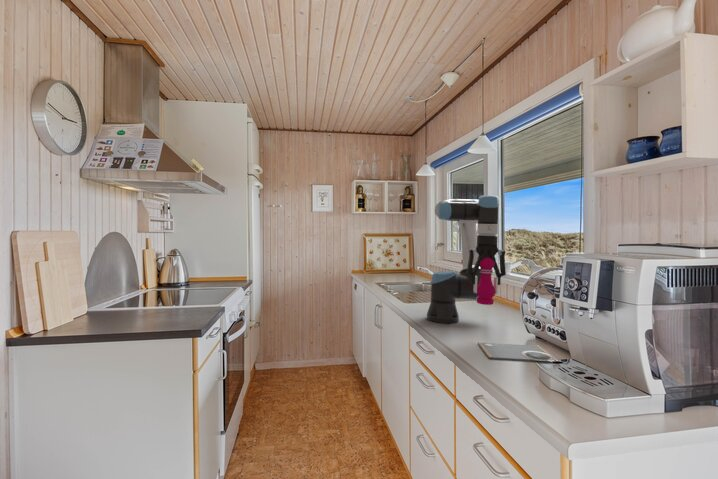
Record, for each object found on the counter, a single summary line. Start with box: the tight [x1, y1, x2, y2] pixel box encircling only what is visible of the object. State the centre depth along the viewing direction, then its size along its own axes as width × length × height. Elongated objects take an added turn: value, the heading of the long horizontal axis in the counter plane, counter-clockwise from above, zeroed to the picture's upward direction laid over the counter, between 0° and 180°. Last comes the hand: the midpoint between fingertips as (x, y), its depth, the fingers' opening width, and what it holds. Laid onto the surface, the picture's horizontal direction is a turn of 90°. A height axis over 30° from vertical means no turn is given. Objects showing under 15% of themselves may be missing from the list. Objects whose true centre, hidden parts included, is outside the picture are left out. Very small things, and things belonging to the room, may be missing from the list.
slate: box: [477, 342, 558, 362], centre depth 126 cm, size 17×22×1 cm
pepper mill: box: [476, 257, 496, 306], centre depth 142 cm, size 7×7×20 cm
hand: (485, 292), depth 142 cm, fingers closed on pepper mill, 7 cm apart
